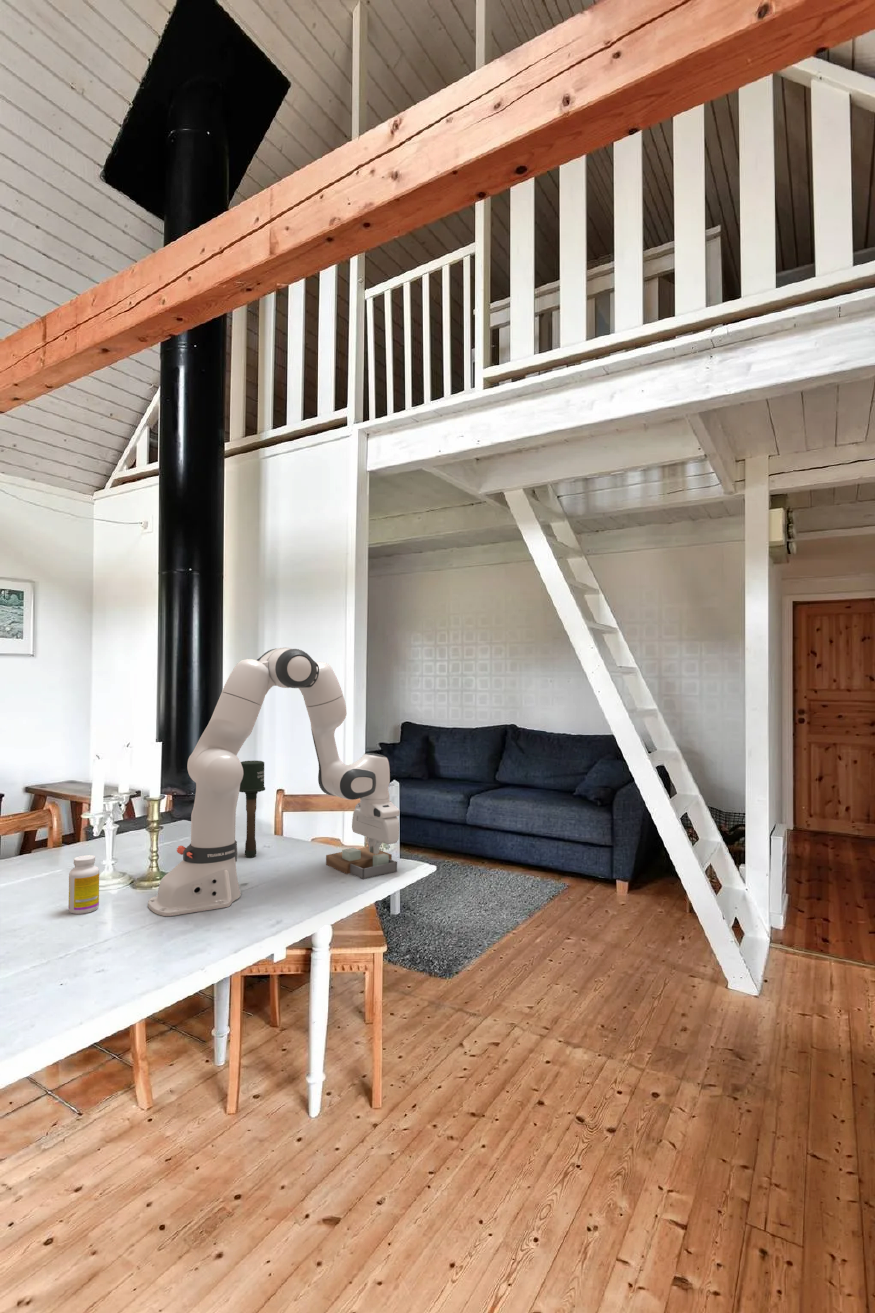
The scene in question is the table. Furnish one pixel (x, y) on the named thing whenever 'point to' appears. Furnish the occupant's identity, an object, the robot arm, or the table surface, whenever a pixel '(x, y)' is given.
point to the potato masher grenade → (251, 799)
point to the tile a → (351, 854)
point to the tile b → (380, 859)
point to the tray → (373, 870)
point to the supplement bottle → (84, 885)
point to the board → (344, 865)
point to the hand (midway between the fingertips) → (374, 853)
